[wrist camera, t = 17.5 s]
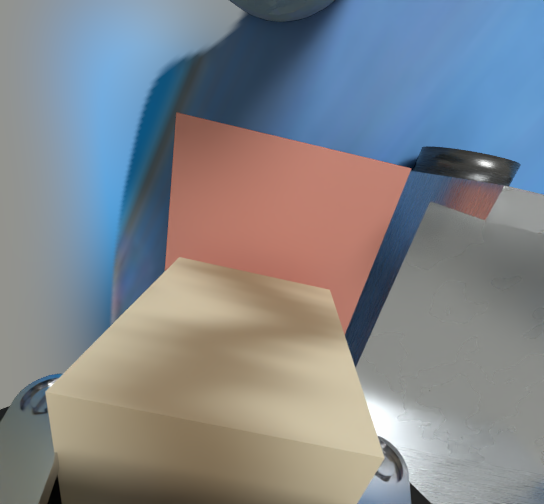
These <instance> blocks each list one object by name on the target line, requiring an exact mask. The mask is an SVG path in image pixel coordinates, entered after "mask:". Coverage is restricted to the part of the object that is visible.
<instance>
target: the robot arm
mask: <svg viewBox="0 0 544 504" xmlns="http://www.w3.org/2000/svg"><path fill="white" fill-rule="evenodd" d="M61 376H62V374H54V375H49V376H46V377H43V378H41V379H38V380H36V381H34V382H32V383H31V384H29V385H28V386H26V387H25V388H24V389H23V390H21V391H20V393H19V394H18V395H17V396H16V397H15V399H14V400H13V402H12V404H11V405H10V406H9V407H6V408H3V409H1V410H0V504H62V501H61V494H60V488H59V481H58V471H59V461H58V454H57V452H54V447H53V441H52V434H51V427H50V421H49V414H48V407H47V400H46V394H45V392H46V391H47V390H48V389H49V388H50V387H51V386H52V385H53V384H54V383H55V382H56V381H57V380H58V379H59V378H60V377H61ZM377 436H378V435H377ZM378 439H379V442H380V445H381V448H382V451H383V454H384V460H383V462H382V463H381V465H380V467H379V468H378V470H377V472H376V473H375V475H374V476H373V478H372V480H371V481H370V483H369V485H368V486H367V488H366V490H365V491H364V493H363V495H362V496H361V498H360V500H359V501H358V503H357V504H432V503H431V502H430V501H429V500H427V499H426V498H425V497H424V496H423V495H422V494H421V493H420V492H419V491H418V490H417V489H416V488H415V487H414V486H413V485H412V484H411V483H410V481H409V472H408V468H407V465H406V463H405V460H404V458H403V457H402V455H401V454H400V452H399V451H398V450H397V449H396V448H395V447H394V446H393V445H392V444H391V443H390V442H389V441H387V440H386V439H384V438H383V437H380V436H378Z"/></svg>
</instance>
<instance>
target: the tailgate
mask: <svg viewBox="0 0 544 504" xmlns="http://www.w3.org/2000/svg"><path fill="white" fill-rule="evenodd" d="M411 169H412V168H408V167H403V166H399V165H395V164H391V163H387V162H383V161H378V160H374V159H370V158H366V157H362V156H357V155H353V154H349V153H345V152H341V151H336V150H332V149H328V148H324V147H320V146H315V145H311V144H307V143H303V142H299V141H294V140H290V139H286V138H282V137H278V136H274V135H269V134H265V133H261V132H257V131H253V130H248V129H244V128H240V127H236V126H232V125H227V124H223V123H219V122H215V121H211V120H206V119H202V118H198V117H194V116H190V115H186V114H181V113H177V112H176V123H175V137H174V151H173V165H172V179H171V193H170V207H169V220H168V234H167V248H166V262H165V271H166V270H167V269H168V268H169V267H170V266H171V265H172V264H173V263H174V262H175V261H176V260H177V259H178V258H179V257H182V258H186V259H191V260H196V261H200V262H205V263H209V264H214V265H219V266H223V267H228V268H232V269H237V270H242V271H246V272H251V273H255V274H260V275H264V276H269V277H274V278H278V279H283V280H287V281H292V282H297V283H301V284H306V285H310V286H315V287H319V288H324V289H329V290H330V292H331V295H332V298H333V301H334V304H335V307H336V310H337V313H338V316H339V319H340V322H341V325H342V329H343V332H344V335H345V333H346V330H347V328H348V325H349V323H350V320H351V318H352V315H353V313H354V310H355V308H356V305H357V303H358V300H359V298H360V295H361V293H362V291H363V288H364V286H365V283H366V281H367V278H368V276H369V273H370V271H371V268H372V266H373V263H374V261H375V258H376V256H377V253H378V251H379V248H380V246H381V243H382V241H383V238H384V236H385V233H386V231H387V228H388V226H389V223H390V221H391V218H392V216H393V213H394V211H395V208H396V206H397V203H398V201H399V198H400V196H401V193H402V191H403V188H404V186H405V183H406V181H407V178H408V176H409V174H410V171H411Z"/></svg>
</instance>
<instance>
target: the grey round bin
mask: <svg viewBox="0 0 544 504" xmlns="http://www.w3.org/2000/svg"><path fill="white" fill-rule="evenodd" d="M230 1H231V2H232V3H234V4H235V5H236V6H238V7H239V8H241V9H242V10H244V11H245V12H247V13H249V14H251V15H253V16H256V17H259V18H262V19H265V20H269V21H278V22H284V21H294V20H299V19H303V18H306V17H309V16H311V15H313V14H315V13H317V12H319V11H321V10H322V9H324V8H326V7H327V6H328V5H330V4H331V3H332V2H333V1H335V0H230Z"/></svg>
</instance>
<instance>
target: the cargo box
mask: <svg viewBox="0 0 544 504" xmlns="http://www.w3.org/2000/svg"><path fill="white" fill-rule="evenodd" d="M45 394H46V400H47V407H48V414H49V421H50V427H51V434H52V441H53V447H54V452H57V454H58V461H59V471H58V481H59V488H60V494H61V501H62V504H357V503H358V501H359V500H360V498H361V496H362V495H363V493H364V491H365V490H366V488H367V486H368V485H369V483H370V481H371V480H372V478H373V476H374V475H375V473H376V472H377V470H378V468H379V467H380V465H381V463H382V462H383V460H384V454H383V451H382V448H381V445H380V442H379V439H378V436H377V433H376V430H375V427H374V424H373V421H372V418H371V415H370V411H369V408H368V405H367V402H366V399H365V396H364V393H363V390H362V387H361V384H360V381H359V378H358V375H357V372H356V368H355V365H354V362H353V359H352V356H351V353H350V350H349V347H348V344H347V341H346V338H345V335H344V332H343V329H342V325H341V322H340V319H339V316H338V313H337V310H336V307H335V304H334V301H333V298H332V295H331V292H330V290H329V289H324V288H319V287H315V286H310V285H306V284H301V283H297V282H292V281H287V280H283V279H278V278H274V277H269V276H264V275H260V274H255V273H251V272H246V271H242V270H237V269H232V268H228V267H223V266H219V265H214V264H209V263H205V262H200V261H196V260H191V259H186V258H182V257H179V258H178V259H177V260H176V261H175V262H174V263H173V264H172V265H171V266H170V267H169V268H168V269H167V270H166V271H165V272H164V273H163V274H162V275H161V276H160V277H159V278H158V279H157V280H156V281H155V282H154V283H153V284H152V285H151V286H150V287H149V288H148V289H147V290H146V291H145V292H144V293H143V294H142V295H141V296H140V297H139V298H138V299H137V300H136V301H135V302H134V303H133V304H132V305H131V306H130V307H129V308H128V309H127V310H126V311H125V312H124V313H123V314H122V315H121V316H120V317H119V318H118V319H117V320H116V321H115V322H114V323H113V324H112V325H111V326H110V327H109V328H108V329H107V330H106V331H105V332H104V333H103V334H102V335H101V336H100V337H99V338H98V339H97V340H96V341H95V342H94V343H93V344H92V345H91V346H90V347H89V348H88V349H87V350H86V351H85V352H84V353H83V354H82V356H80V357H79V358H78V360H76V361H75V363H73V364H72V365H71V366H70V368H69V369H68V370H66V371H65V373H63V374H62V376H61V377H60V378H59V379H58V380H57V381H56V382H55V383H54V384H53V385H52V386H51V387H50V388H49V389H48V390H47V391H46V392H45Z"/></svg>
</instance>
